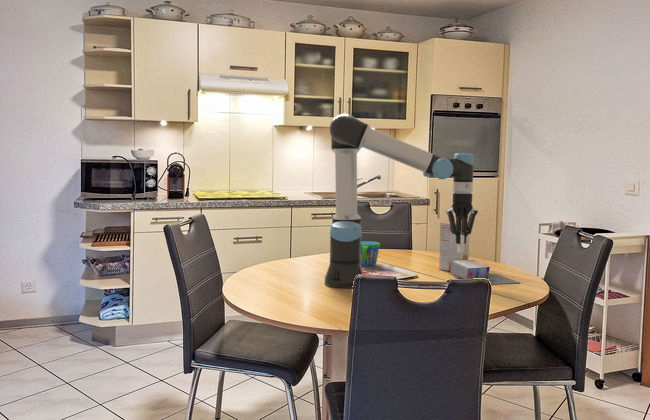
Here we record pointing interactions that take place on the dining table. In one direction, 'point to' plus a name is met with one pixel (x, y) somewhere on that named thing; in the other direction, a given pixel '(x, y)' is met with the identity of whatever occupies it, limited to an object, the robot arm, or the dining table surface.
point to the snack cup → (369, 253)
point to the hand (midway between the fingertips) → (460, 251)
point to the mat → (498, 279)
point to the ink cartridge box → (469, 269)
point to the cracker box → (450, 247)
